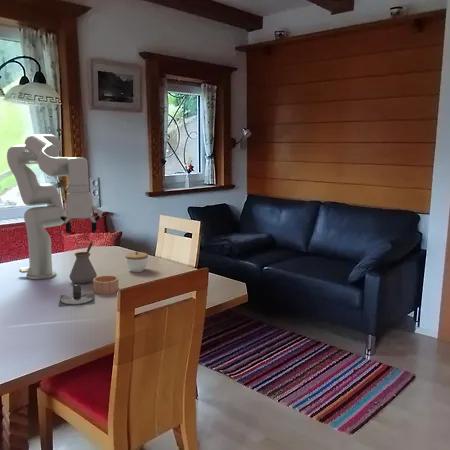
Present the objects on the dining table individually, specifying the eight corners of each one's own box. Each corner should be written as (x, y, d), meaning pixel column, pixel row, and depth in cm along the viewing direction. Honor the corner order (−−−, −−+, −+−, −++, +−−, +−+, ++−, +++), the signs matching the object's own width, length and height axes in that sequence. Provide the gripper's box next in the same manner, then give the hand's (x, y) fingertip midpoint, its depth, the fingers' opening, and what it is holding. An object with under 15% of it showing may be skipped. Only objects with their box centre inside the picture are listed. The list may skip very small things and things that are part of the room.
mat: (58, 307, 168) (58, 306, 168) (60, 296, 180) (60, 295, 180) (94, 304, 171) (94, 303, 171) (94, 293, 183) (94, 293, 183)
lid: (59, 306, 168) (59, 291, 167) (62, 295, 179) (61, 281, 178) (93, 303, 171) (92, 288, 170) (93, 293, 183) (93, 279, 182)
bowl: (93, 295, 182) (93, 283, 181) (93, 287, 191) (93, 276, 190) (119, 293, 185) (118, 281, 184) (117, 286, 194) (117, 274, 193)
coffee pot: (92, 286, 193) (91, 252, 191) (65, 285, 193) (64, 251, 191) (105, 272, 214) (104, 241, 212) (81, 271, 214) (80, 240, 212)
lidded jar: (150, 267, 223) (150, 249, 222) (144, 273, 213) (144, 254, 211) (129, 266, 224) (129, 248, 223) (122, 272, 214) (122, 253, 212)
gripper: (53, 190, 174) (56, 234, 176) (99, 189, 174) (101, 233, 177) (59, 189, 181) (62, 231, 184) (103, 188, 182) (105, 230, 184)
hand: (81, 232), depth 180 cm, fingers open, 9 cm apart
